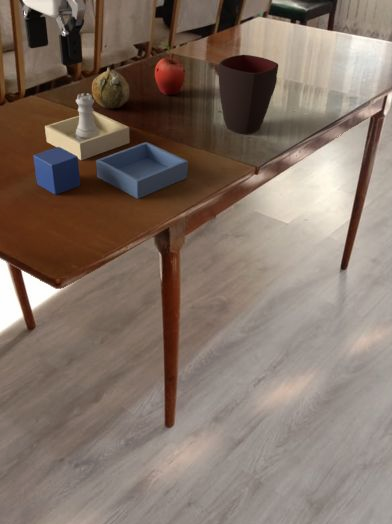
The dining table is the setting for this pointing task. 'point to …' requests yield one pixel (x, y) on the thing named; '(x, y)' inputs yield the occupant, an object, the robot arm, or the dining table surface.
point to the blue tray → (141, 169)
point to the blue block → (57, 170)
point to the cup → (246, 91)
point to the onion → (110, 89)
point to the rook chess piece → (85, 118)
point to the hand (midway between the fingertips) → (54, 54)
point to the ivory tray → (108, 139)
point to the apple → (169, 74)
